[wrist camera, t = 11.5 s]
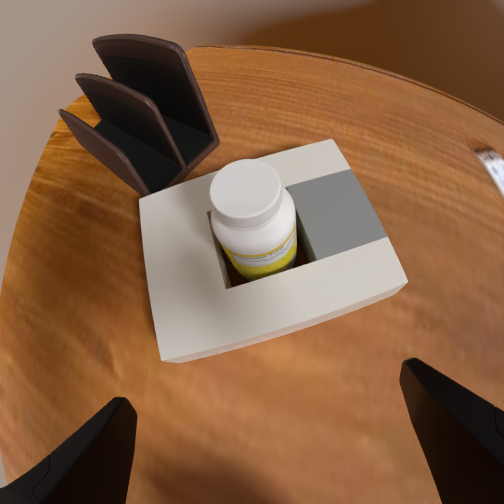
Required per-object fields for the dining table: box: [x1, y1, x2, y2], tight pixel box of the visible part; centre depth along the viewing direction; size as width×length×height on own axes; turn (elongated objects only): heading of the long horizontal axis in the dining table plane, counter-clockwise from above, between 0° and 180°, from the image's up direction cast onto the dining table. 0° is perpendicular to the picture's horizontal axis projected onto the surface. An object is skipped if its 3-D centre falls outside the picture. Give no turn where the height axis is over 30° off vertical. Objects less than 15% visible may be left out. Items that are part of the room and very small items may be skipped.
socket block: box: [139, 139, 408, 363], centre depth 23 cm, size 14×18×4 cm
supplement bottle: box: [209, 159, 297, 282], centre depth 20 cm, size 5×5×10 cm
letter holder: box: [59, 34, 220, 197], centre depth 26 cm, size 10×20×14 cm, turn 50°
